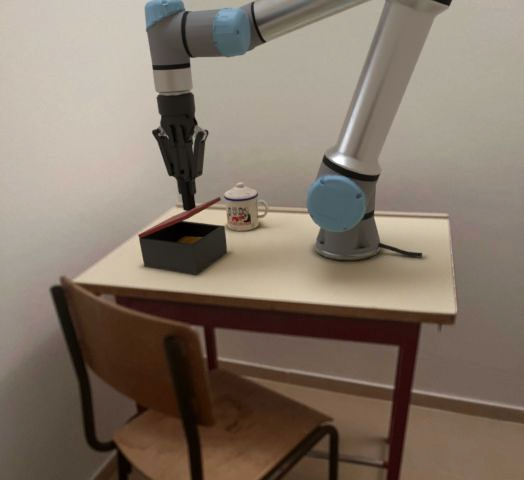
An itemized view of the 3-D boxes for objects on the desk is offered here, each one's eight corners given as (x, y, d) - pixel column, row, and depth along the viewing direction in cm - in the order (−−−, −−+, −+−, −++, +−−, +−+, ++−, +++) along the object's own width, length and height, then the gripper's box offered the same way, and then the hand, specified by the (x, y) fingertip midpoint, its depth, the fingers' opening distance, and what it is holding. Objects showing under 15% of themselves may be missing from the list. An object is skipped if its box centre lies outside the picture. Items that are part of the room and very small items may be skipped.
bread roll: (192, 257, 117) (188, 240, 115) (169, 258, 123) (164, 241, 122) (219, 247, 122) (214, 230, 120) (195, 247, 128) (191, 231, 127)
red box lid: (221, 200, 119) (219, 196, 119) (188, 218, 109) (186, 215, 109) (174, 219, 128) (172, 216, 128) (139, 238, 118) (137, 234, 118)
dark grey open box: (227, 253, 126) (224, 225, 123) (196, 275, 116) (192, 246, 112) (177, 245, 132) (173, 219, 129) (144, 266, 122) (138, 238, 118)
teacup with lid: (222, 230, 140) (218, 187, 134) (232, 219, 147) (229, 178, 141) (264, 232, 137) (262, 188, 131) (273, 221, 144) (271, 179, 138)
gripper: (212, 90, 104) (222, 206, 116) (159, 90, 109) (175, 201, 122) (191, 95, 98) (205, 216, 111) (137, 94, 103) (156, 211, 116)
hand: (189, 208), depth 116 cm, fingers closed
